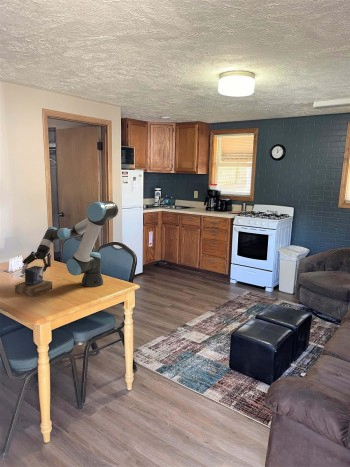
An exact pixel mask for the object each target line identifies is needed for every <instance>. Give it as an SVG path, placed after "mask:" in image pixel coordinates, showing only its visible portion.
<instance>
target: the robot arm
mask: <svg viewBox="0 0 350 467" xmlns="http://www.w3.org/2000/svg"><path fill="white" fill-rule="evenodd" d="M118 213H119V207H118V204H117V203H115V202H114V201H111V200H108V201H107V200H105V201H95V202H92V203H90V204H89V205H88V207H87V208H86V214H87V215H86V216H87V217H86V218H85V219H83V220H81V221H80V222H78V223H75V225H73V226H69V227H62V228H57V227H55V226H49V227H48V228H47V229H46V231H45V234H44V235H43V237H42V239H41V241H40V243H39V245H38V247H37V250H36V252H35V251H31V252H30V254H29V255H28V256H27V257H25V259H23V260H22V261H21V262H22V264H23V265H22V268H21V271H20V273H21V274H22V275H25V269H27V268H29V265H30V264H31V263H33V262H34V261H37V260H41V261H42V262H43V264H44V265H42V266H41V267H42V269H41V271H40V273H39V275H40V276H42V275H44V272H46V270H47V268H50V267H51V266H52V265H51V258H52V254H51V253H50V250H51V249H52V246H53V244H54V242H55V241H60V240H61V241H62V240H66V239H67V240H68V239H71V238H77V237H81V236H82V235H83V236H82V238H81V240H80V243H79V246H78V249H77V251H74V252H73V255H72V257H71V258H69V259H67V261H66V265H65V266H66V269H67V271H68V273H69V274H70V275H71V276H80V275H81V274H83V276H82V277H81V278H82V279H81V286H83V287H88V288H94V287H95V288H96V287H100V286H103V285H104V278H103V275H102V272H101V271H102V270H101V269H102V268H101V267H102V265H101V263H102V258H101V256H102V255H101V253H100V252H97V251H93V248H94V247H95V244H96V241H97V239H98V237H99V234H100V231H101V230H102V227H104V226H105V225H106V223H107V222H108V221H111V220H112V219H115V218H116V217H117V216H118Z"/></svg>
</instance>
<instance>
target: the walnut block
mask: <svg viewBox="0 0 350 467" xmlns="http://www.w3.org/2000/svg"><path fill="white" fill-rule="evenodd" d="M51 290H53V281H52V280H51V281H49V280H45V279H44V280H43V282H41V283H38V284H36V285H34V286H30V285H25V281H22V282H20V283H17V284H14V291H15V292H14V293H15V294H16V293H17V295H23V296H28V297H34V298H36V297H38V296H41V295H43V294H45V293H48V292H50V291H51Z"/></svg>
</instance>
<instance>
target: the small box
mask: <svg viewBox="0 0 350 467" xmlns="http://www.w3.org/2000/svg"><path fill="white" fill-rule="evenodd" d="M42 267H43V266H40V265H39V266H38V265H33V266H31V267H27V269H25V273H24V282H25V285H30V286H34V285H36V284H38V283H41V282H43V278H44V277H43V275H44V274H43V275H42V276H40V275H39V273H40V271H41V269H42Z"/></svg>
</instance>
